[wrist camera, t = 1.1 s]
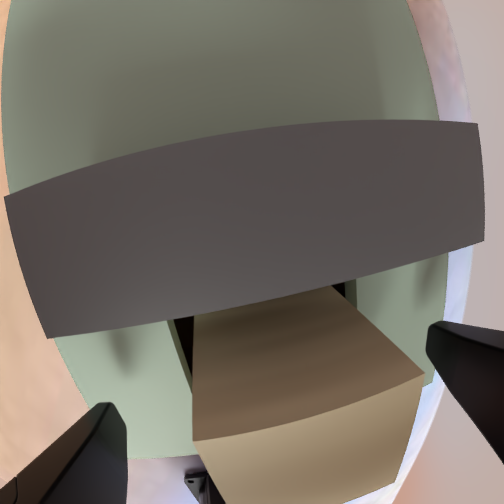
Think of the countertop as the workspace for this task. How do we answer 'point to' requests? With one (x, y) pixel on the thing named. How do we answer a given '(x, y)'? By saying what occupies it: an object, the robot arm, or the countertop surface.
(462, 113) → the countertop surface
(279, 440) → the tan rectangular block
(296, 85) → the lid
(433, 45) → the countertop surface
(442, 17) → the countertop surface
